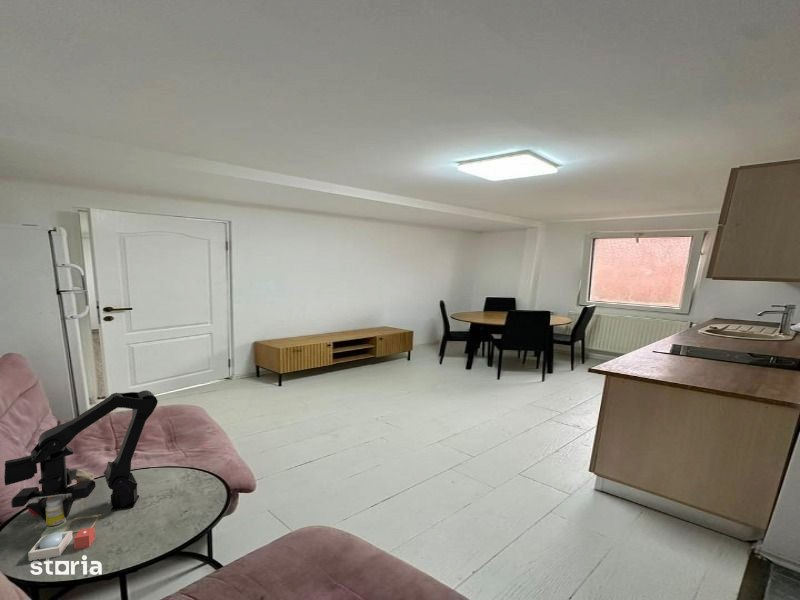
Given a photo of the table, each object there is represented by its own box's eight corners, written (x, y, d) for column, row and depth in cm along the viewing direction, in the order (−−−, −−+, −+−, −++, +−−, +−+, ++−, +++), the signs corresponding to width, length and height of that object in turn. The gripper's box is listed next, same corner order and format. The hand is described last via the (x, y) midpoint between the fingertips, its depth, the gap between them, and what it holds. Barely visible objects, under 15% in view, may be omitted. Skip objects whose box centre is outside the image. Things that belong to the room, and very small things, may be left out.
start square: (101, 515, 122) (101, 514, 122) (90, 530, 116) (90, 529, 116) (74, 519, 120) (74, 518, 120) (62, 534, 113) (62, 533, 113)
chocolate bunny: (93, 496, 131) (92, 469, 130) (63, 503, 127) (62, 476, 126) (95, 488, 136) (94, 462, 135) (66, 495, 132) (65, 468, 130)
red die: (95, 538, 113) (94, 526, 112) (89, 546, 109) (88, 535, 109) (80, 540, 111) (80, 529, 111) (74, 549, 108) (73, 537, 108)
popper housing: (72, 538, 112) (72, 530, 112) (59, 555, 106) (59, 547, 105) (43, 542, 110) (43, 535, 110) (28, 561, 103) (28, 553, 103)
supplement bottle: (55, 518, 118) (53, 493, 117) (71, 517, 118) (69, 493, 117) (42, 529, 113) (40, 503, 112) (58, 528, 113) (57, 503, 113)
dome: (66, 540, 111) (65, 530, 110) (57, 552, 106) (56, 542, 106) (46, 543, 109) (45, 534, 109) (36, 555, 105) (35, 546, 104)
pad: (72, 520, 119) (72, 520, 119) (63, 533, 114) (63, 532, 114) (51, 523, 118) (51, 523, 118) (40, 536, 112) (40, 535, 112)
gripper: (101, 454, 124) (104, 497, 126) (31, 461, 118) (35, 506, 120) (85, 472, 114) (88, 519, 116) (7, 481, 108) (12, 531, 110)
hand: (56, 518), depth 115 cm, fingers closed on supplement bottle, 5 cm apart
